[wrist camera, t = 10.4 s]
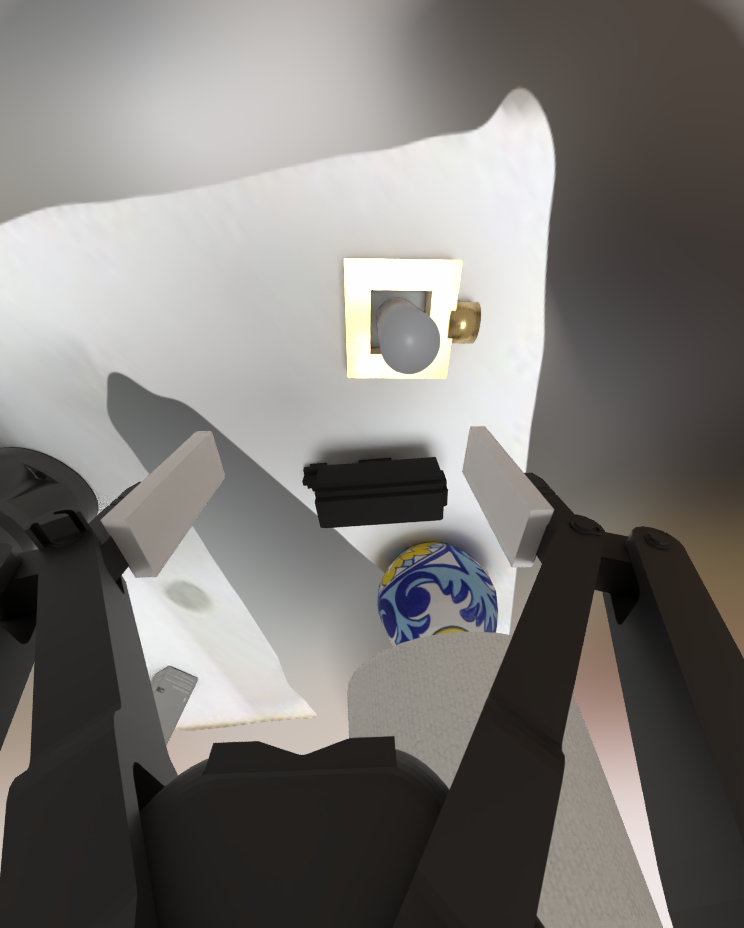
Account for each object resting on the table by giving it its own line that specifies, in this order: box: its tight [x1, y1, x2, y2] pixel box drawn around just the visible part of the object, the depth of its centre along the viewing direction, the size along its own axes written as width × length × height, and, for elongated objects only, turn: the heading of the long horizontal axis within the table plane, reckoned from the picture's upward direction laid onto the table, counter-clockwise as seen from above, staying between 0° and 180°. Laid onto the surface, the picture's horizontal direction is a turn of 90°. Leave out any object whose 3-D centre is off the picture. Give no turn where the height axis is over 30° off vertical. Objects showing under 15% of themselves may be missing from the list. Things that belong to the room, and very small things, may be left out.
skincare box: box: [151, 666, 197, 745], centre depth 69 cm, size 8×7×16 cm
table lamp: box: [347, 542, 663, 928], centre depth 39 cm, size 27×27×40 cm
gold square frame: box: [344, 258, 481, 379], centre depth 33 cm, size 14×11×4 cm
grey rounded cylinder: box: [377, 298, 441, 374], centre depth 28 cm, size 4×4×14 cm
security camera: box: [302, 457, 448, 528], centre depth 40 cm, size 7×18×10 cm, turn 95°
